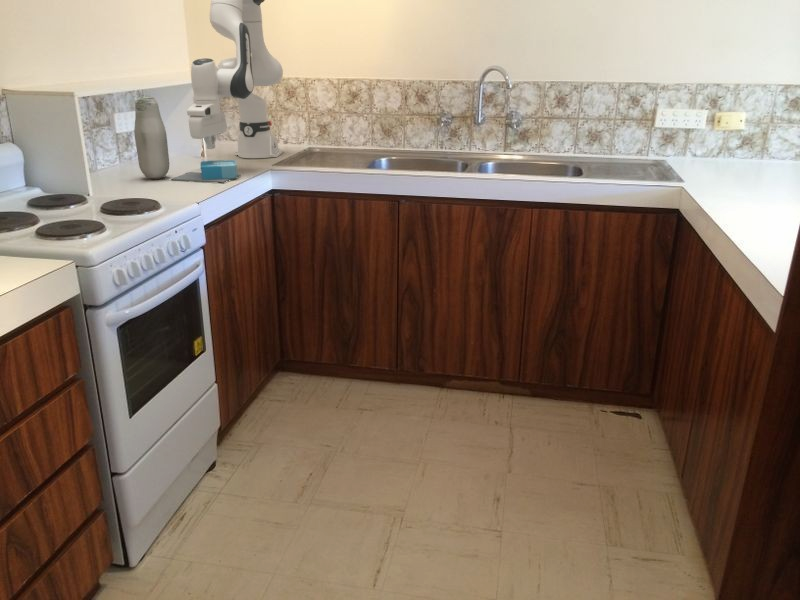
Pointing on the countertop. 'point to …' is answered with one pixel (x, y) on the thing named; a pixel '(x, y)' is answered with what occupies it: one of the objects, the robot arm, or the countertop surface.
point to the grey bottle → (150, 138)
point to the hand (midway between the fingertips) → (211, 148)
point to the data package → (218, 169)
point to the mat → (197, 178)
